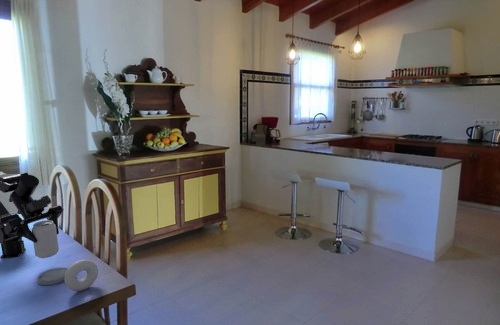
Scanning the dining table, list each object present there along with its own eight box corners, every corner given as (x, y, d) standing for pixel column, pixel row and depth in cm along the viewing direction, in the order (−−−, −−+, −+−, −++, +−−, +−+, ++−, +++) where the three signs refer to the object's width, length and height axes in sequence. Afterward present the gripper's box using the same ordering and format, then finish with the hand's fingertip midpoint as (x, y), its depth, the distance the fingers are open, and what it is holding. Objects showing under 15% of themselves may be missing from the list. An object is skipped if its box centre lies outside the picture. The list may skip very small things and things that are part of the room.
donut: (68, 298, 105) (64, 268, 103) (64, 293, 107) (60, 264, 105) (101, 285, 112) (98, 256, 110) (97, 281, 114) (94, 253, 112)
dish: (32, 287, 111) (32, 284, 111) (44, 271, 121) (44, 269, 121) (65, 283, 113) (65, 280, 113) (75, 269, 123) (75, 266, 122)
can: (48, 260, 119) (44, 227, 117) (30, 258, 121) (25, 226, 119) (64, 250, 127) (60, 219, 124) (46, 249, 128) (42, 218, 126)
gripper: (3, 197, 113) (27, 235, 110) (57, 184, 129) (79, 216, 126) (-6, 216, 118) (17, 253, 115) (47, 201, 134) (68, 233, 131)
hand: (47, 237), depth 122 cm, fingers closed on can, 7 cm apart
